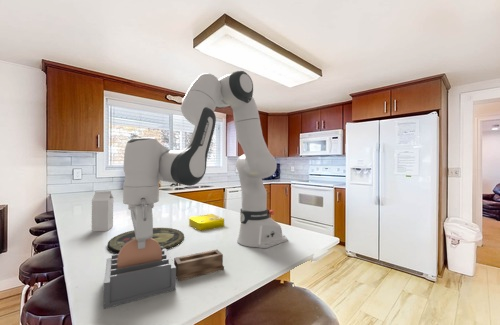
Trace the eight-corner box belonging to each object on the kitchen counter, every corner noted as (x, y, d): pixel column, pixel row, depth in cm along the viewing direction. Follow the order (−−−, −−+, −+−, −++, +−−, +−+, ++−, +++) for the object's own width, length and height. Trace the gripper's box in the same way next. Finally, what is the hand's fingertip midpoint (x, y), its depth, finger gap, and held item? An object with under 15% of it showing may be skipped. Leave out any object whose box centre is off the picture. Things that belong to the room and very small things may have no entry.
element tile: (212, 220, 132) (212, 212, 132) (225, 227, 121) (225, 218, 121) (187, 225, 123) (187, 216, 123) (200, 232, 111) (200, 222, 111)
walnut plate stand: (215, 261, 78) (216, 248, 78) (223, 269, 72) (224, 255, 72) (173, 270, 71) (173, 256, 71) (178, 281, 65) (178, 265, 65)
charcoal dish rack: (165, 266, 74) (165, 245, 74) (175, 289, 61) (176, 263, 61) (106, 279, 65) (106, 255, 65) (103, 308, 53) (104, 279, 53)
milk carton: (108, 230, 110) (108, 192, 110) (91, 231, 108) (91, 192, 108) (113, 226, 117) (113, 190, 116) (97, 227, 115) (98, 190, 115)
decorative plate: (88, 247, 85) (140, 225, 115) (87, 251, 85) (140, 228, 115) (158, 255, 80) (195, 229, 109) (158, 260, 80) (195, 233, 109)
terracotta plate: (161, 271, 65) (161, 233, 65) (161, 273, 64) (162, 235, 64) (116, 281, 60) (117, 240, 59) (116, 283, 58) (117, 241, 58)
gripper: (159, 201, 54) (158, 258, 54) (149, 190, 72) (149, 233, 72) (130, 203, 51) (129, 263, 51) (127, 191, 69) (126, 236, 69)
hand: (140, 246), depth 62 cm, fingers closed on terracotta plate, 1 cm apart
